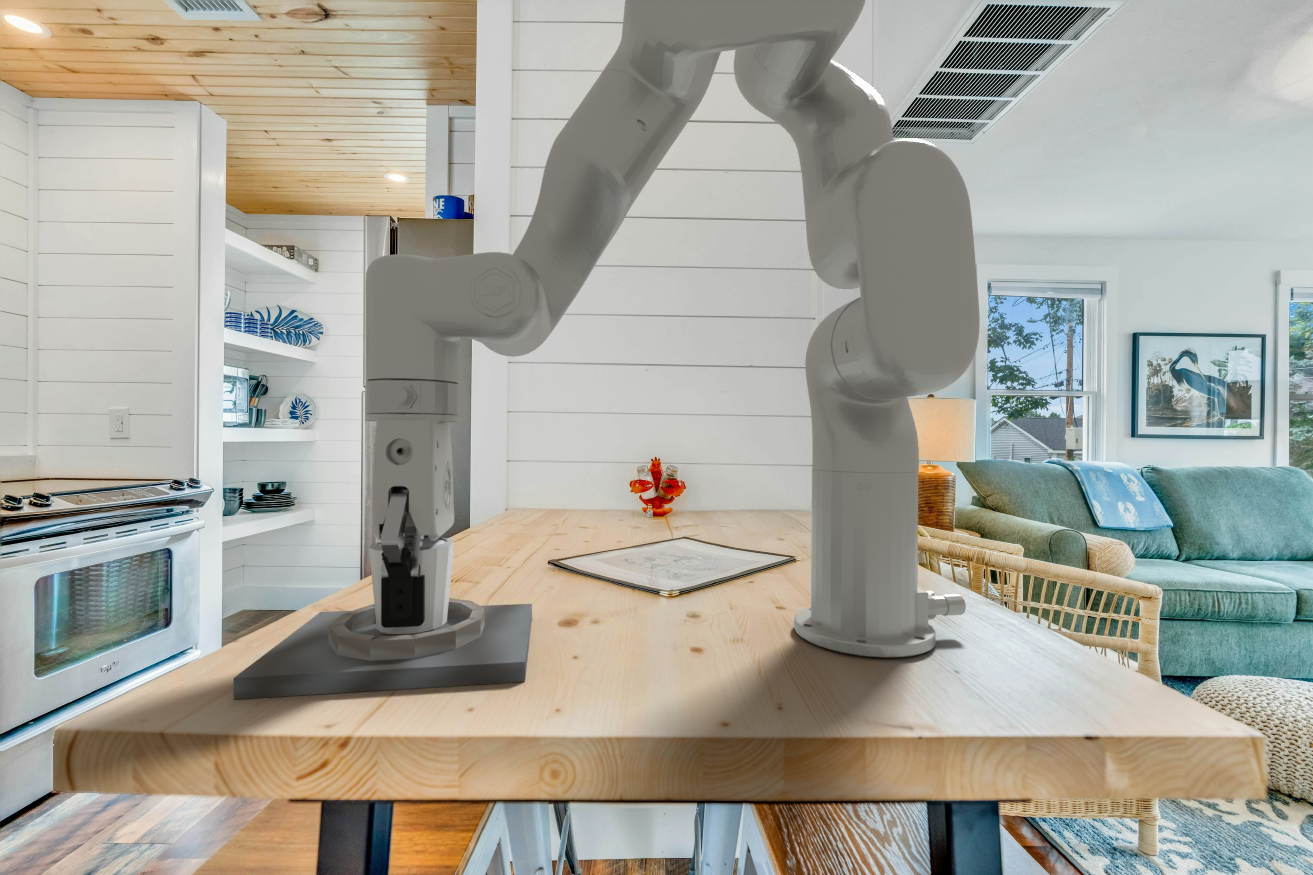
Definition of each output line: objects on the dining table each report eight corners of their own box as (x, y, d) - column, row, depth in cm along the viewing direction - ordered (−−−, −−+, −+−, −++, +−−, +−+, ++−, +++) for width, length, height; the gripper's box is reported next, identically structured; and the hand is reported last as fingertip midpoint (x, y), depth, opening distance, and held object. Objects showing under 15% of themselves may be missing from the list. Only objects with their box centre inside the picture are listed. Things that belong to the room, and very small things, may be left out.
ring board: (531, 618, 61) (532, 588, 61) (524, 681, 45) (525, 641, 45) (320, 627, 58) (320, 596, 58) (233, 699, 42) (233, 656, 42)
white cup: (425, 639, 47) (425, 551, 47) (349, 633, 49) (349, 547, 49) (469, 614, 54) (469, 537, 54) (401, 609, 56) (401, 534, 56)
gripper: (440, 399, 44) (440, 645, 44) (471, 409, 61) (471, 586, 61) (329, 398, 42) (329, 651, 42) (393, 409, 59) (393, 589, 59)
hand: (413, 611), depth 52 cm, fingers open, 6 cm apart
